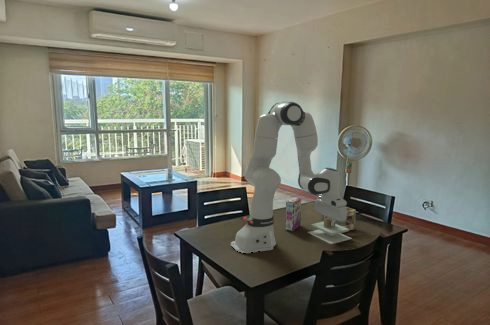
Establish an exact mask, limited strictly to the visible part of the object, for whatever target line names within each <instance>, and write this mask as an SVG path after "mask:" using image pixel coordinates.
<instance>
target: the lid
mask: <svg viewBox="0 0 490 325" xmlns="http://www.w3.org/2000/svg"><path fill="white" fill-rule="evenodd" d="M331 221H332V220H331V219H329V220H325V221H323V222H322V221H320V222H315V223H314V222H313V223H311V224H310V226H311V227H312V228H315V229H316V230H321V231H323V232H325V233H327V234H330V235H335V234H339V233H341V234H343V233H346V232H349V231H350V230H349V229H347V228H345V227H342V226H340V225H337V224H335V222H334V226H330V222H331Z"/></svg>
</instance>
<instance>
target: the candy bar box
mask: <svg viewBox="0 0 490 325" xmlns="http://www.w3.org/2000/svg"><path fill="white" fill-rule="evenodd" d="M301 217H302V198H301V197H296V196H294V197H292V198H289V199H288V200H287V201H285V223H284V224H285V228H284V229H285V231H289V232H294V231H295V230H297V229H298V228H299V227H300V226H301Z"/></svg>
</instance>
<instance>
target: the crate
mask: <svg viewBox="0 0 490 325" xmlns="http://www.w3.org/2000/svg"><path fill="white" fill-rule="evenodd" d="M346 208H347V217H352V218H351V222H350V221H349V220H346V226H342V222H340V221H339V225H340V226H342V227H345V228H347V229H349V231H351V230H352V231H353V230H355V229H356V214H357V210H356V209H354V208H351V207H349V206H346ZM329 219H331V218H330V217H328V220H329ZM323 221H325V219H324V215H322V214H321V222H323Z"/></svg>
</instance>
